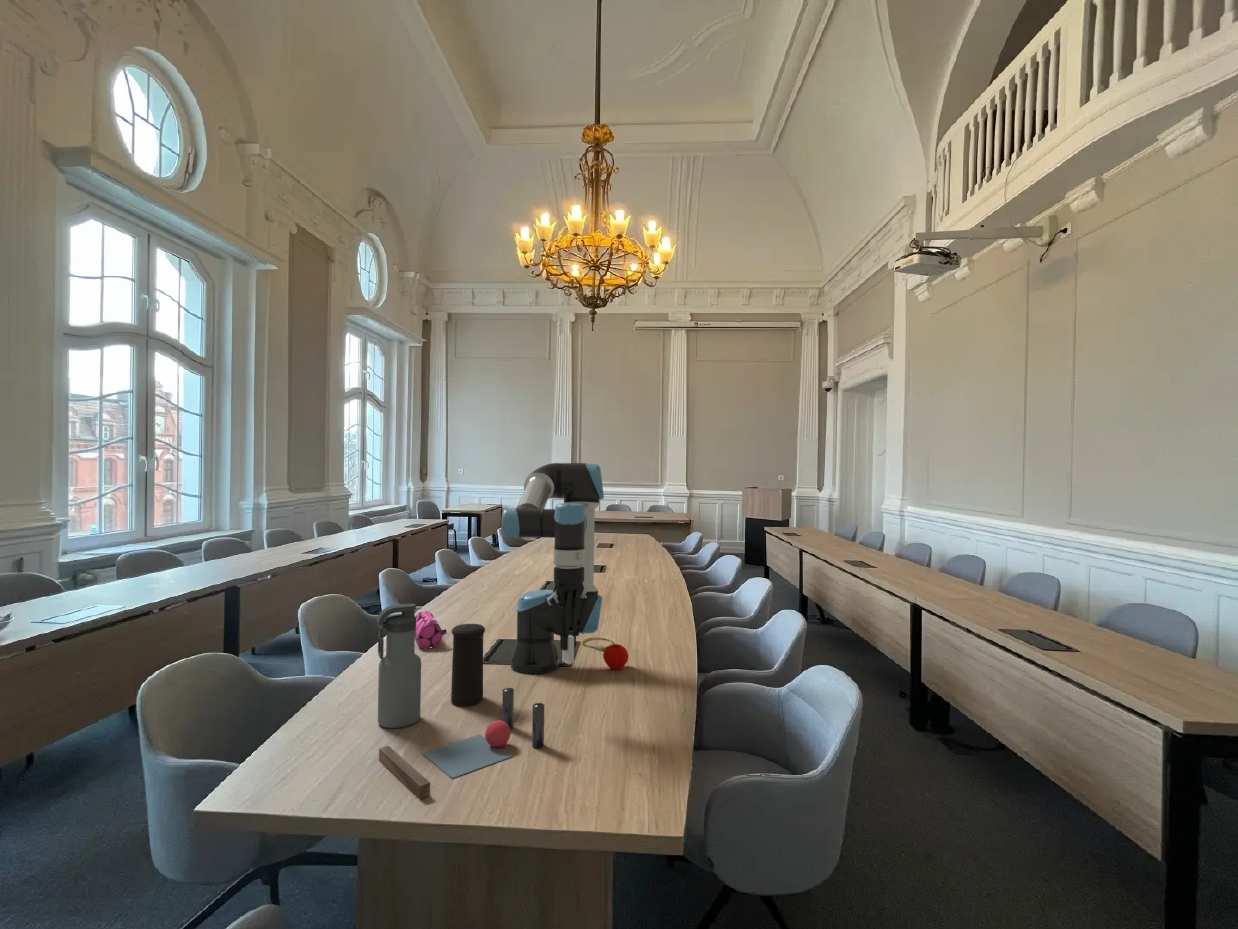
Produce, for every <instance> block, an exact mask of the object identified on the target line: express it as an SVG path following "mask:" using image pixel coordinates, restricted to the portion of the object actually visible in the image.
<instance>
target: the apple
mask: <svg viewBox="0 0 1238 929" xmlns="http://www.w3.org/2000/svg"><path fill="white" fill-rule="evenodd" d="M612 644H613V643H612ZM609 645H610V644H609ZM609 645H607V646H608V647H607V646H606V647H607V648H606V649H605V651H604V652H603V654H602V658H603V661H604V663H605V664H606V666H607V667H608V668H609V669H612V670H615V671H619V670H621V669H623V668H624V666H626V664H627V663H628V660H629V652H628V650H627V648H626V647H624V646H623V645H621V644H619V643H618V644H617V643H614V644H613V645H610V646H609Z"/></svg>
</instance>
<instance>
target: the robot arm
mask: <svg viewBox="0 0 1238 929" xmlns="http://www.w3.org/2000/svg"><path fill="white" fill-rule="evenodd" d="M604 496H605V495H604V487H603V478H602V469H601V467H600V465H599V464H596V463H588V462H567V463H566V462H565V463H564V462H553V463H548V464H545V465H542V466H540V467H538V468H536V469H535V470H533V471H532V472H530V474H528V476H526V479H525V481H524V484H523V493H522V495H521V497H520V499H519V501H518V503H517V505H516V507H512V508H505V509H504V510H503V511H502V513H501V532H502V535H503V536H504V537H507V538H515V539H519V538H545V539H546V538H548V539H551V538H552V539H553V538H554V547H553V565H555V566H554V568H553V582H554V587H553V590H552V589H538V590H532V591H529V592H525V593H522V594H521V595H519V597H518V600H517V609H516V614H517V615H516V616H517V617H516V643H515V646H514V650H513V652H512V656H511V659H510V668H511V670H513V671H515V672H517V673H522V674H542V673H548V672H552V671H554V670H556V669H558V668H559V666H560V657H559V653H558V649H557V646H556V643H555V635H556V636H559V637H560V638H559V639H560V640H559V642H560V644H559V645H560V646H559V648H560V650H562V653H561V654H562V656H561V662H562V663H564V664H567V665H571V664H574V663H575V662H574V659H575V649H576V647H577V637H579V636H580V634H581V635H584V634H594V633H597V631H598V629H599V624H600V617H601V610H602V603H603V596H602V595H600V594H599V589H598V588H597V587H596V586H595V584H594V579H595V578H594V577H595V576H594V573H595V572H594V571H595V566H594V565H595V564H594V563H595V519H596V518H595V514H596V512H595V511H596V509H597V507H599V506H600V501H601V500H604ZM550 499H558V500H559V499H560V500H561V499H562V500H563V502H562V503H558V504H556V505H555V506H554V508H546V506H547V505H546V504H547V503H548V500H550Z"/></svg>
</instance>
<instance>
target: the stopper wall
mask: <svg viewBox="0 0 1238 929" xmlns="http://www.w3.org/2000/svg"><path fill="white" fill-rule="evenodd" d="M378 762H379V763H381V764H382V765H383V766H384V767H385V768H386V769H387V770H388V771H389V772H390V773H391V774H392V775H393V776H394V777H395V778H397V779H398V781H399V782H401V783H402V784H403V786H405V787H406V788H407V789H408V790H409V791H410V792H411V791H412V792H413V793H414V794H415V795H416V796H417V797H418V798H419V799H420V800H422V799H421V798H423V799H425V798H424V797H426V798H428V797H430V796H431V781H429V780H428V779H427V778H426V777H425V776H424V775H422V774H421V773H420V771H418V770H417V769H415V767H413V766H412V765H411V764H410V763H409V762H407V760H406V759H404V758H403V757H402V756H401V755H400V754H399V753H398V752H396V751H395V750H394V749H393V748H392V747H391V746H390V745H387V746H384V747H380V748H379V749H378ZM412 792H411V793H412ZM413 793H412V794H413ZM414 794H413V795H414ZM415 795H414V796H415ZM416 796H415V797H416ZM417 797H416V798H417ZM418 798H417V799H418ZM419 799H418V800H419Z"/></svg>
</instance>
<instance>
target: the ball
mask: <svg viewBox="0 0 1238 929" xmlns="http://www.w3.org/2000/svg"><path fill="white" fill-rule="evenodd" d="M511 732H512V731H511V730H510V727H509V726H508V724H507V723H506V722H504V721H502V720H501V719H500V720H499V719H498V720H494V721H492V722H490V724H488V725H487V727H486V730H485V734H484V735H485V736H484V737H485V738H486V741H487V742H488V744H489V745H491V746H492V747H500V748H502V747H503V746H505V745H506V744H507V743H508V742H509V740H510V738H511V735H512V734H511Z"/></svg>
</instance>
